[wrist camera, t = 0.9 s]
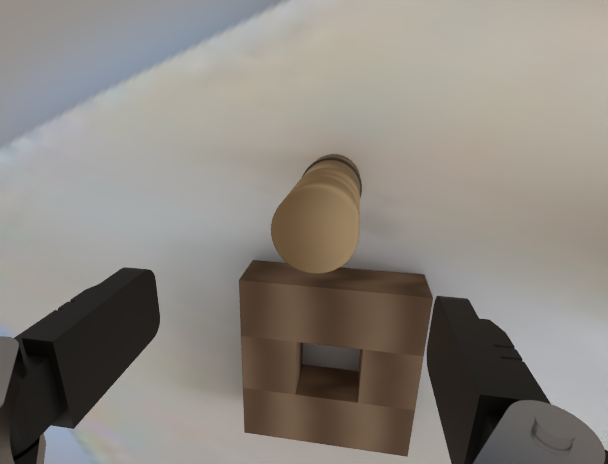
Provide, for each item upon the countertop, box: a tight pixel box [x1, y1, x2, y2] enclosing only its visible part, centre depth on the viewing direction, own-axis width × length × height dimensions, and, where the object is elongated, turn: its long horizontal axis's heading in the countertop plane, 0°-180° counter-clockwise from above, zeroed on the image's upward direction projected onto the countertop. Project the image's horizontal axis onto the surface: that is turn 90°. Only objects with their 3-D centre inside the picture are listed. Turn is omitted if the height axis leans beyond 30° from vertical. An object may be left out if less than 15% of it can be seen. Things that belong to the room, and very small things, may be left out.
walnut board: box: [239, 260, 433, 456], centre depth 33 cm, size 15×16×4 cm
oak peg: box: [271, 154, 362, 273], centre depth 23 cm, size 4×4×14 cm
